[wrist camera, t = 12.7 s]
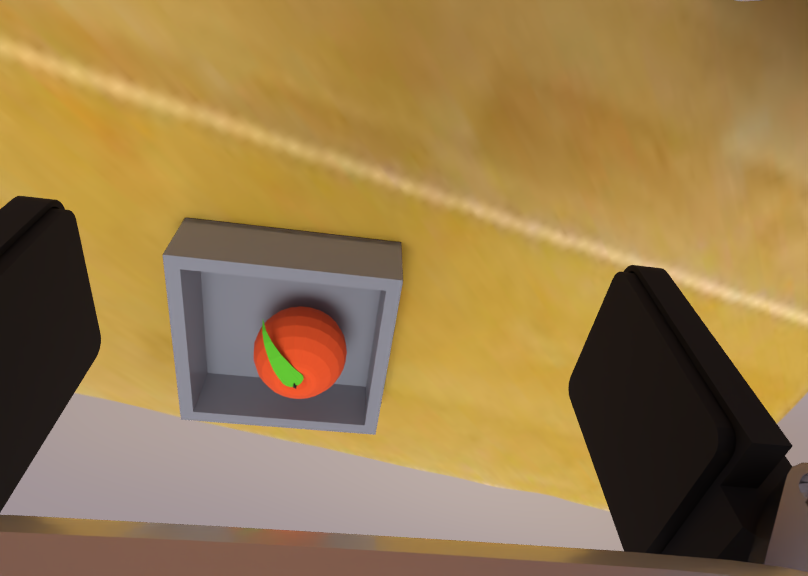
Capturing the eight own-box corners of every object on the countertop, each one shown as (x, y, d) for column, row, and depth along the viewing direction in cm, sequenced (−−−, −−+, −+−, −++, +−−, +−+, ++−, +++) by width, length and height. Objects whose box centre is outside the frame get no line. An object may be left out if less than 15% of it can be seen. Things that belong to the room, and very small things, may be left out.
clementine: (235, 300, 44) (213, 363, 38) (310, 264, 42) (298, 324, 37) (294, 366, 48) (282, 432, 42) (365, 335, 46) (362, 399, 41)
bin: (401, 242, 42) (402, 280, 38) (376, 390, 51) (375, 434, 47) (185, 217, 40) (162, 254, 36) (197, 375, 49) (181, 419, 45)
